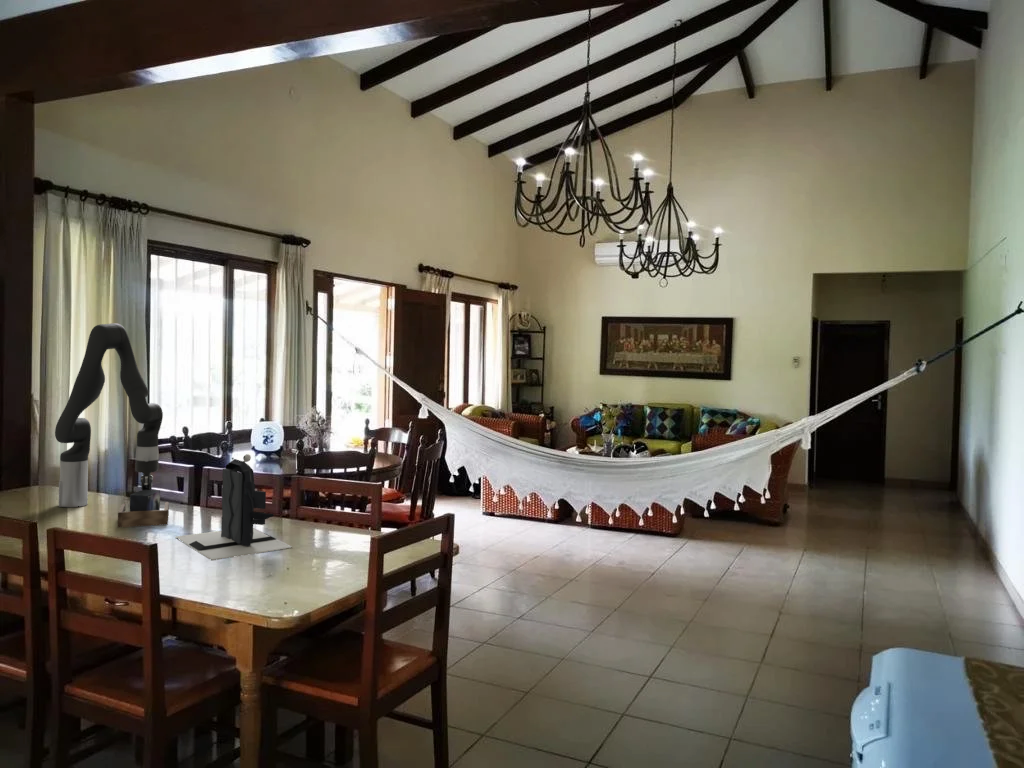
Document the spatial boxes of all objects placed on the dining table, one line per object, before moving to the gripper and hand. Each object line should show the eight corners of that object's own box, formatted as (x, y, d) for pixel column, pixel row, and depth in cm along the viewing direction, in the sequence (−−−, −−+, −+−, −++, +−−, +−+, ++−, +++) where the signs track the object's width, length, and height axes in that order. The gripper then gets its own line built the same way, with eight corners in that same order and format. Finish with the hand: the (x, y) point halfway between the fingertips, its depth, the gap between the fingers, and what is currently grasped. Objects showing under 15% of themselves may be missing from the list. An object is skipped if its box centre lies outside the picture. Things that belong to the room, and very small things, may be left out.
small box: (147, 525, 262) (147, 495, 262) (128, 524, 262) (128, 494, 262) (160, 518, 273) (161, 489, 273) (142, 518, 273) (142, 489, 272)
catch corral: (117, 527, 258) (118, 512, 258) (121, 517, 272) (121, 504, 272) (167, 524, 264) (167, 510, 264) (168, 515, 278) (168, 502, 278)
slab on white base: (175, 538, 247) (176, 451, 246) (251, 528, 264) (253, 447, 263) (211, 561, 223) (213, 464, 222) (292, 548, 240) (294, 459, 239)
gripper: (136, 455, 281) (135, 502, 282) (134, 461, 269) (133, 509, 270) (159, 455, 284) (158, 501, 285) (158, 460, 272) (157, 508, 273)
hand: (146, 505), depth 277 cm, fingers closed
